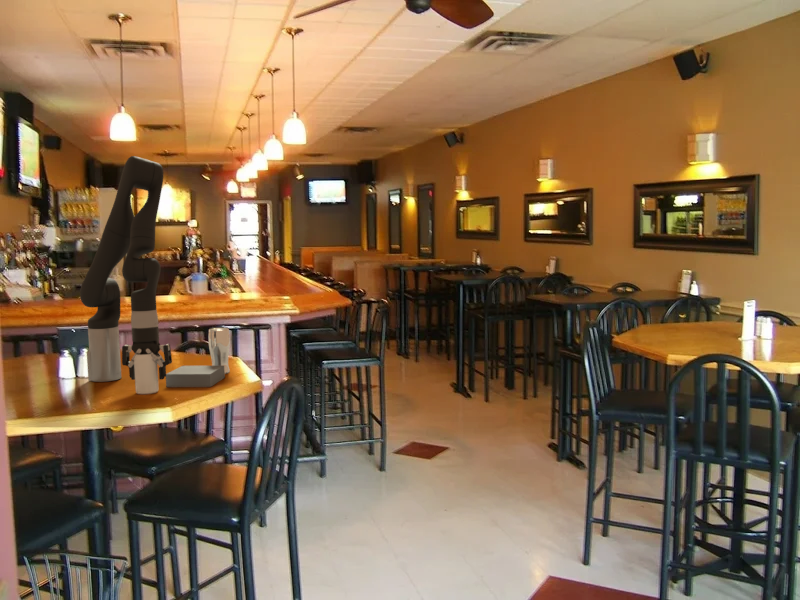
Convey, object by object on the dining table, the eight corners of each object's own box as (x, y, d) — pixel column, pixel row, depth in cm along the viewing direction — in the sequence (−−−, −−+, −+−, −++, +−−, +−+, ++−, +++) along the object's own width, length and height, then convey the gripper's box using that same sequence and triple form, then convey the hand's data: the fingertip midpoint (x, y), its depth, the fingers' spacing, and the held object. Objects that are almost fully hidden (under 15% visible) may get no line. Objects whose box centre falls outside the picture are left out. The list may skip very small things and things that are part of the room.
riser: (166, 387, 219) (165, 374, 218) (183, 377, 233) (182, 365, 232) (210, 386, 218) (210, 374, 218) (224, 377, 232) (224, 365, 231)
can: (131, 394, 210) (128, 354, 209) (144, 389, 216) (142, 350, 215) (149, 395, 208) (147, 354, 207) (163, 390, 214) (161, 351, 213)
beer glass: (220, 370, 245) (218, 327, 243) (235, 371, 241) (233, 328, 240) (205, 373, 239) (203, 329, 237) (220, 375, 235) (218, 330, 234)
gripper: (115, 327, 207) (119, 382, 209) (163, 326, 206) (166, 381, 208) (127, 324, 215) (130, 377, 216) (173, 323, 214) (176, 376, 215)
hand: (148, 379), depth 212 cm, fingers open, 8 cm apart
